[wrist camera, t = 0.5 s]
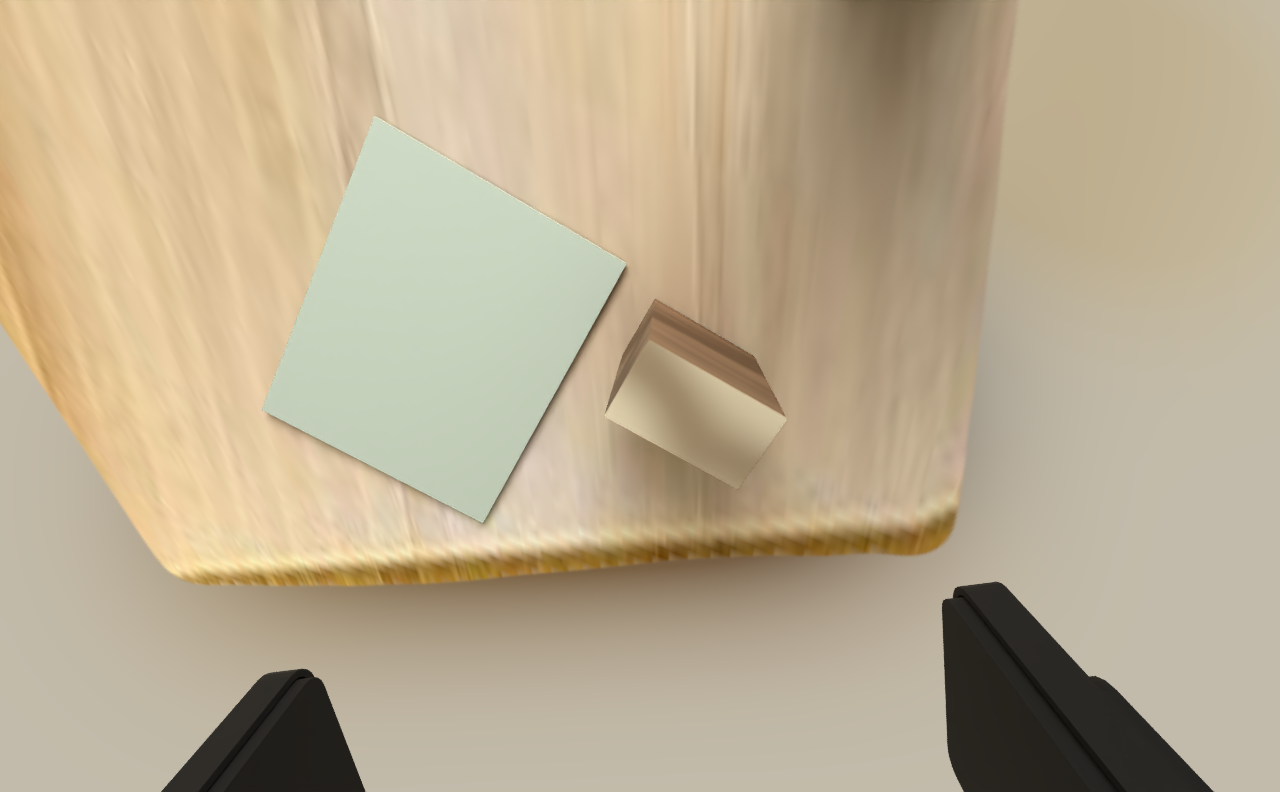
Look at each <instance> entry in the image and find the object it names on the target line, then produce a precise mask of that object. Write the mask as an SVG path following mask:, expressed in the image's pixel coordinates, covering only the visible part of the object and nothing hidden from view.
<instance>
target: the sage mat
mask: <svg viewBox="0 0 1280 792" xmlns="http://www.w3.org/2000/svg"><path fill="white" fill-rule="evenodd" d="M626 264H627V263H626V262H624V261H623V260H621V259H619V258H617V257H616V256H614V255H612V254H611V253H609V252H607V251H605V250H604V249H602V248H600V247H599V246H597V245H595V244H594V243H592V242H590V241H588V240H587V239H585V238H583V237H582V236H580V235H578V234H576V233H575V232H573V231H571V230H570V229H568V228H566V227H564V226H563V225H561V224H559V223H558V222H556V221H554V220H552V219H551V218H549V217H547V216H546V215H544V214H542V213H540V212H539V211H537V210H535V209H534V208H532V207H530V206H529V205H527V204H525V203H523V202H522V201H520V200H518V199H517V198H515V197H513V196H511V195H510V194H508V193H506V192H505V191H503V190H501V189H499V188H498V187H496V186H494V185H493V184H491V183H489V182H487V181H486V180H484V179H482V178H481V177H479V176H477V175H475V174H474V173H472V172H470V171H469V170H467V169H465V168H464V167H462V166H460V165H458V164H457V163H455V162H453V161H452V160H450V159H448V158H446V157H445V156H443V155H441V154H440V153H438V152H436V151H434V150H433V149H431V148H429V147H428V146H426V145H424V144H422V143H421V142H419V141H417V140H416V139H414V138H412V137H410V136H409V135H407V134H405V133H404V132H402V131H400V130H399V129H397V128H395V127H393V126H392V125H390V124H388V123H387V122H385V121H383V120H381V119H380V118H378V117H375V116H374V119H373V121H372V124H371V126H370V129H369V132H368V134H367V137H366V139H365V142H364V145H363V147H362V150H361V153H360V155H359V158H358V160H357V163H356V166H355V168H354V171H353V173H352V176H351V179H350V181H349V184H348V186H347V189H346V192H345V194H344V197H343V199H342V202H341V205H340V207H339V210H338V212H337V215H336V218H335V220H334V223H333V226H332V228H331V231H330V233H329V236H328V239H327V241H326V244H325V246H324V249H323V252H322V254H321V257H320V259H319V262H318V265H317V267H316V270H315V272H314V275H313V278H312V280H311V283H310V285H309V288H308V291H307V293H306V296H305V299H304V301H303V304H302V306H301V309H300V312H299V314H298V317H297V319H296V322H295V325H294V327H293V330H292V332H291V335H290V338H289V340H288V343H287V345H286V348H285V351H284V353H283V356H282V358H281V361H280V364H279V366H278V369H277V372H276V374H275V377H274V379H273V382H272V385H271V387H270V390H269V392H268V395H267V398H266V400H265V403H264V405H263V408H262V410H263V411H265V412H267V413H268V414H270V415H272V416H274V417H276V418H278V419H280V420H282V421H284V422H286V423H288V424H290V425H292V426H294V427H296V428H298V429H300V430H302V431H304V432H306V433H308V434H309V435H311V436H313V437H315V438H317V439H319V440H321V441H323V442H325V443H327V444H329V445H331V446H333V447H335V448H337V449H339V450H341V451H343V452H345V453H347V454H349V455H350V456H352V457H354V458H356V459H358V460H360V461H362V462H364V463H366V464H368V465H370V466H372V467H374V468H376V469H378V470H380V471H382V472H384V473H386V474H388V475H390V476H391V477H393V478H395V479H397V480H399V481H401V482H403V483H405V484H407V485H409V486H411V487H413V488H415V489H417V490H419V491H421V492H423V493H425V494H427V495H429V496H431V497H433V498H434V499H436V500H438V501H440V502H442V503H444V504H446V505H448V506H450V507H452V508H454V509H456V510H458V511H460V512H462V513H464V514H466V515H468V516H470V517H472V518H474V519H475V520H477V521H479V522H481V523H483V522H484V520H485V519H486V517H487V515H488V513H489V511H490V510H491V508H492V506H493V504H494V502H495V501H496V499H497V497H498V495H499V493H500V492H501V490H502V488H503V486H504V484H505V482H506V481H507V479H508V477H509V475H510V473H511V472H512V470H513V468H514V466H515V464H516V463H517V461H518V459H519V457H520V455H521V454H522V452H523V450H524V448H525V446H526V445H527V443H528V441H529V439H530V437H531V436H532V434H533V432H534V430H535V428H536V426H537V425H538V423H539V421H540V419H541V417H542V416H543V414H544V412H545V410H546V408H547V407H548V405H549V403H550V401H551V399H552V398H553V396H554V394H555V392H556V390H557V389H558V387H559V385H560V383H561V381H562V380H563V378H564V376H565V374H566V372H567V370H568V369H569V367H570V365H571V363H572V361H573V360H574V358H575V356H576V354H577V352H578V351H579V349H580V347H581V345H582V343H583V342H584V340H585V338H586V336H587V334H588V333H589V331H590V329H591V327H592V325H593V323H594V322H595V320H596V318H597V316H598V314H599V313H600V311H601V309H602V307H603V305H604V304H605V302H606V300H607V298H608V296H609V295H610V293H611V291H612V289H613V287H614V286H615V284H616V282H617V280H618V278H619V277H620V275H621V273H622V271H623V269H624V267H625V266H626Z"/></svg>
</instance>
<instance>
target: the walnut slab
mask: <svg viewBox="0 0 1280 792" xmlns="http://www.w3.org/2000/svg"><path fill="white" fill-rule="evenodd" d="M604 417H606V418H608V419H610V420H611V421H613V422H615V423H617V424H619V425H621V426H622V427H624V428H626V429H628V430H630V431H631V432H633V433H635V434H637V435H639V436H641V437H642V438H644V439H646V440H648V441H650V442H652V443H653V444H655V445H657V446H659V447H661V448H662V449H664V450H666V451H668V452H670V453H672V454H673V455H675V456H677V457H679V458H681V459H683V460H684V461H686V462H688V463H690V464H692V465H693V466H695V467H697V468H699V469H701V470H703V471H704V472H706V473H708V474H710V475H712V476H714V477H715V478H717V479H719V480H721V481H723V482H724V483H726V484H728V485H730V486H732V487H734V488H735V489H737V490H738V489H739V487H740V486H741V484H742V483H743V482H744V480H745V479H746V477H747V476H748V474H749V473H750V472H751V470H752V469H753V467H754V466H755V464H756V463H757V462H758V460H759V459H760V457H761V456H762V454H763V453H764V452H765V450H766V449H767V447H768V446H769V444H770V443H771V442H772V440H773V439H774V437H775V436H776V434H777V433H778V432H779V430H780V429H781V427H782V426H783V424H784V423H785V422H786V420H787V418H786V416H785V414H784V412H783V411H782V409H781V407H780V405H779V403H778V401H777V399H776V397H775V395H774V393H773V391H772V390H771V388H770V386H769V384H768V382H767V380H766V378H765V376H764V374H763V372H762V370H761V369H760V367H759V365H758V363H757V361H756V359H755V357H754V356H753V355H751V354H749V353H748V352H746V351H744V350H742V349H741V348H739V347H737V346H735V345H734V344H732V343H730V342H729V341H727V340H725V339H723V338H722V337H720V336H718V335H716V334H715V333H713V332H711V331H710V330H708V329H706V328H704V327H703V326H701V325H699V324H698V323H696V322H694V321H692V320H691V319H689V318H687V317H685V316H684V315H682V314H680V313H679V312H677V311H675V310H673V309H672V308H670V307H668V306H667V305H665V304H663V303H661V302H660V301H658V300H656V299H655V300H654V302H653V304H652V305H651V307H650V309H649V310H648V312H647V314H646V316H645V317H644V319H643V321H642V322H641V324H640V326H639V328H638V329H637V331H636V333H635V335H634V336H633V338H632V340H631V341H630V343H629V345H628V347H627V348H626V350H625V352H624V354H623V356H622V359H621V362H620V365H619V369H618V372H617V375H616V379H615V382H614V385H613V389H612V392H611V395H610V399H609V402H608V405H607V408H606V412H605V415H604Z"/></svg>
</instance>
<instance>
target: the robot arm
mask: <svg viewBox="0 0 1280 792" xmlns="http://www.w3.org/2000/svg"><path fill="white" fill-rule="evenodd" d="M942 620H943V643H944V667H945V668H944V669H945V693H946V719H947V744H948V753H949V757H950V761H951V764H952V767H953V770H954V772H955V775H956V777H957V779H958V781H959V783H960V785H961V787H962V789H963V791H964V792H1213V791H1212V790H1211V788H1210V787H1209V786H1208V785H1207V784H1206V783H1205V782H1204V781H1203V780H1202V779H1201V778H1200V777H1199V776H1198V775H1197V774H1196V773H1195V772H1194V771H1193V770H1192V769H1191V768H1190V766H1189V765H1188V764H1187V763H1186V762H1185V761H1184V760H1183V759H1182V758H1181V757H1180V756H1179V755H1178V754H1177V753H1176V752H1175V751H1174V750H1173V749H1172V748H1171V747H1170V746H1169V745H1168V743H1167V742H1166V741H1165V740H1164V739H1163V738H1162V737H1161V736H1160V735H1159V734H1158V733H1157V732H1156V731H1155V730H1154V729H1153V728H1152V727H1151V726H1150V725H1149V724H1148V723H1147V721H1146V720H1145V719H1144V718H1142V716H1141V715H1140V714H1139V713H1138V712H1137V711H1136V710H1135V709H1134V708H1133V707H1132V706H1131V705H1130V704H1129V703H1128V702H1127V701H1126V699H1124V697H1123V696H1122V695H1121V694H1120V693H1119V692H1118V691H1117V690H1116V689H1115V688H1113V687H1112V686H1111V685H1110V684H1109V683H1108V682H1106V681H1105V680H1103V679H1101V678H1099V677H1096V676H1091V677H1089V676H1088V675H1087V674H1086V673H1085V672H1084V671H1083V670H1082V669H1081V668H1080V667H1079V666H1078V664H1077V663H1076V662H1075V661H1074V660H1073V659H1072V658H1071V657H1070V656H1069V655H1068V654H1067V653H1066V651H1065V650H1064V649H1063V648H1062V647H1061V646H1060V645H1059V644H1058V643H1057V642H1056V641H1055V640H1054V638H1053V637H1052V636H1051V635H1050V634H1049V633H1048V632H1047V631H1046V630H1045V629H1044V628H1043V627H1042V626H1041V624H1040V623H1039V622H1038V621H1037V620H1036V619H1035V618H1034V617H1033V616H1032V615H1031V614H1030V612H1029V611H1028V610H1027V609H1026V608H1025V607H1024V606H1023V605H1022V604H1021V603H1020V602H1019V601H1018V600H1017V598H1016V597H1015V596H1014V595H1013V594H1012V593H1011V592H1010V591H1009V590H1008V589H1007V587H1005V586H1004V585H1003V584H1002V583H999V582H992V583H983V584H976V585H968V586H960V587H957V588H955V590H954V593H953V598H952V599H945V600H944V601H943V603H942ZM161 792H365V789H364V787H363V784H362V781H361V779H360V776H359V774H358V771H357V769H356V766H355V763H354V761H353V759H352V756H351V753H350V751H349V748H348V745H347V743H346V740H345V738H344V735H343V732H342V730H341V728H340V725H339V722H338V720H337V717H336V714H335V712H334V709H333V707H332V704H331V701H330V699H329V696H328V694H327V691H326V688H325V686H324V684H323V682H322V680H320V679H319V678H316V677H314V675H313V674H312V672H310V671H309V670H307V669H297V670H289V671H281V672H273V673H268V674H266V675H264V676H262V677H261V678H260V679H259V680H258V681H257V682H256V683H255V684H254V685H253V687H252V688H251V689H250V690H249V691H248V692H247V694H246V695H245V696H244V697H243V698H242V699H241V700H240V702H239V703H238V704H237V705H236V706H235V707H234V709H233V710H232V711H231V712H230V713H229V714H228V716H227V717H226V718H225V719H224V720H223V721H222V722H221V724H220V725H219V726H218V727H217V728H216V729H215V731H214V732H213V733H212V734H211V735H210V736H209V737H208V738H207V740H206V741H205V742H204V743H203V744H202V745H201V747H200V748H199V749H198V750H197V751H196V752H195V753H194V755H193V756H192V757H191V758H190V759H189V760H188V762H187V763H186V764H185V765H184V766H183V767H182V769H181V770H180V771H179V772H178V773H177V774H176V775H175V777H174V778H173V779H172V780H171V781H170V782H169V783H168V785H167V786H166V787H165V788H164V789H163V790H162V791H161Z"/></svg>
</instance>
